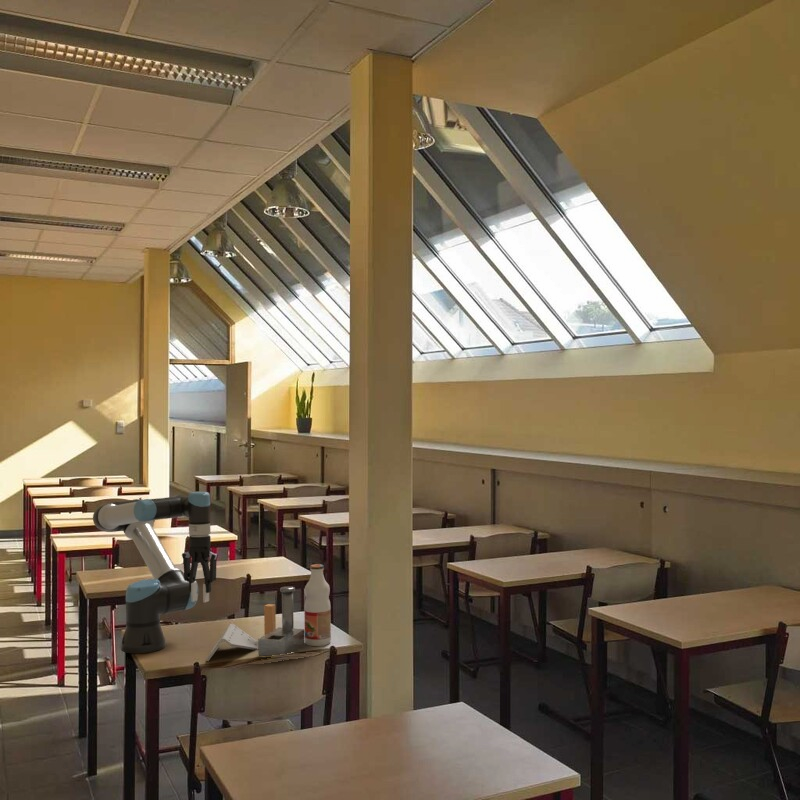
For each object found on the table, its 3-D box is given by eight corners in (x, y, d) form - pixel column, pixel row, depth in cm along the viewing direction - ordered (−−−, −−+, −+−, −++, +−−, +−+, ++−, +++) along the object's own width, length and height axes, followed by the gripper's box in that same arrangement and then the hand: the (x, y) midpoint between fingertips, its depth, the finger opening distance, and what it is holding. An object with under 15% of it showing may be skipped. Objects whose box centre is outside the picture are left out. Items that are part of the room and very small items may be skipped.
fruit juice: (330, 646, 293) (329, 567, 294) (304, 647, 293) (303, 568, 293) (331, 639, 303) (330, 562, 303) (305, 639, 302) (304, 563, 302)
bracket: (222, 637, 277) (231, 622, 297) (204, 662, 276) (214, 645, 296) (254, 660, 277) (260, 643, 297) (236, 684, 277) (244, 666, 297)
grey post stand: (258, 656, 282) (257, 595, 282) (279, 644, 297) (278, 585, 297) (285, 659, 279) (284, 596, 279) (304, 646, 294) (303, 587, 294)
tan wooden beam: (264, 641, 300) (264, 605, 300) (268, 639, 303) (268, 604, 303) (272, 642, 299) (271, 606, 300) (275, 640, 302) (275, 604, 302)
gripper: (172, 536, 292) (173, 602, 292) (215, 537, 287) (216, 605, 287) (184, 533, 300) (184, 597, 299) (226, 534, 294) (227, 600, 294)
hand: (200, 601), depth 293 cm, fingers open, 4 cm apart
